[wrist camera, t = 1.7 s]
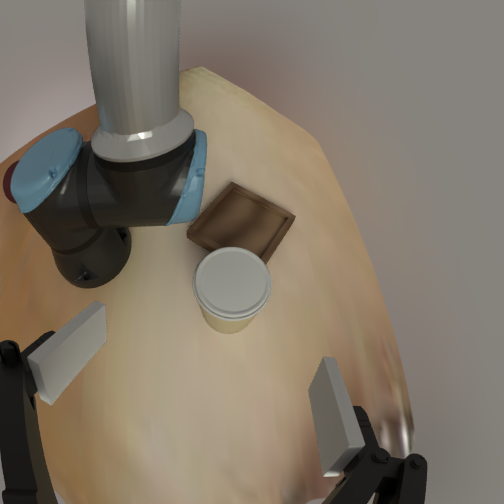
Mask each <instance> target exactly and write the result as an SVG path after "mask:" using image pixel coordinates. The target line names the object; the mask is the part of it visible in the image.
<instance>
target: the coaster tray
mask: <svg viewBox="0 0 504 504" xmlns="http://www.w3.org/2000/svg"><path fill="white" fill-rule="evenodd" d="M295 217H296V216H295V215H293V214H291V213H289V212H287V211H286V210H284V209H282V208H280V207H278V206H276V205H275V204H273V203H271V202H269V201H267V200H265V199H264V198H262V197H260V196H258V195H256V194H254V193H252V192H250V191H248V190H247V189H245V188H243V187H241V186H239V185H237V184H235V183H233V182H231V183H230V184H229V185H228V186H227V187H226V189H225V190H224V191H223V192H222V193H221V194H220V195H219V196H218V197H217V198H216V199H215V200H214V201H213V202H212V204H211V205H210V206H209V207H208V208H207V209H206V210H205V211H204V212H203V213H202V214H201V216H200V217H199V218H198V219H197V220H196V221H195V222H194V223H193V224H192V226H191V227H190V228H189V229H188V230H187V238H189V239H191V240H192V241H194V242H196V243H197V244H199V245H200V246H202V247H204V248H205V249H207V250H209V251H210V252H213V251H215V250H217V249H220V248H224V247H239V248H243V249H246V250H248V251H251V252H252V253H254V254H255V255H257V256H258V257H259V258H260V259H261V260H262V261H263V262H264V264H265V265H266V264H267V262H268V261H269V259H270V258H271V256H272V254H273V253H274V251H275V250H276V248H277V247H278V245H279V244H280V242H281V241H282V239H283V238H284V236H285V234H286V233H287V231H288V230H289V228H290V227H291V225H292V224H293V222H294V219H295Z"/></svg>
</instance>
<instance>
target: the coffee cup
mask: <svg viewBox="0 0 504 504" xmlns="http://www.w3.org/2000/svg"><path fill="white" fill-rule="evenodd" d="M271 289H272V280H271V276H270V273H269V270H268V268H267V267H266V265H265V264H264V262H263V261H262V260H261V259H260V258H259V257H258V256H257V255H255V254H254V253H252V252H251V251H248V250H246V249H243V248H239V247H224V248H220V249H217V250H215V251H213V252H211V253H210V254H208V255H207V256H205V257H204V258H203V259H202V260H201V262H200V263H199V264H198V266H197V268H196V270H195V273H194V277H193V290H194V293H195V296H196V298H197V301H198V302H199V305H200V308H201V311H202V313H203V316H204V318H205V320H206V322H207V323H208V325H209V326H210V327H211V328H213V329H214V330H216V331H217V332H220V333H223V334H234V333H237V332H239V331H241V330H243V329H244V328H245V327H246V326H248V324H249V323H250V322H251V321H252V320H253V319H254V317H255V316H256V315H257V314H258V312H259V311H261V310H262V309H263V307H264V306H265V305H266V303H267V302H268V300H269V297H270V294H271Z"/></svg>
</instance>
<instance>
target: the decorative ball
mask: <svg viewBox="0 0 504 504" xmlns="http://www.w3.org/2000/svg"><path fill="white" fill-rule="evenodd" d="M19 161H20V160H19ZM19 161H16V162H15V163H13V164H12V165H11V166H10V167H9V168H8V169H7V171H6V173H5V176H4V179H3V189H4V193H5V195H6V197H7V198H8V199H9V200H10V201H11V202H13V203H16V204H17V202H16V201H15V199H14V197H13V195H12V193H11V178H12V175H13V172H14V170H15V168H16V166H17V164H18V162H19Z"/></svg>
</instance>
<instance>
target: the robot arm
mask: <svg viewBox="0 0 504 504" xmlns="http://www.w3.org/2000/svg"><path fill="white" fill-rule="evenodd" d="M84 3H85V22H86V35H87V46H88V54H89V62H90V69H91V76H92V83H93V89H94V94H95V100H96V105H97V110H98V115H99V120H100V125H99V126H98V128H97V129H96V131H95V132H94V134H93V136H92V139H91V141H88V142H83V137H82V135H81V134H79V132H78V131H77V130H75V129H73V128H62V129H59V130H56V131H54V132H52V133H50V134H48V135H46V136H45V137H43V138H42V139H40V140H39V141H38V142H36V143H35V144H34V145H33V146H32V147H31V148H30V149H29V150H28V151H27V152H26V153H25V154H24V156H23V157H22V158H21V159H20V161H19V162H18V164H17V166H16V168H15V170H14V172H13V175H12V178H11V193H12V195H13V197H14V199H15V201H16V202H17V204H18V207H19V210H20V211H21V212H22V213H23V214H24V215H25V217H26V218H27V219H28V221H29V222H30V223H31V224H32V226H33V227H34V228H35V229H36V231H37V232H38V233H39V234H40V235H41V237H42V238H43V239H44V240H45V241H46V243H47V244H48V245H49V246H50V247H51V250H52V253H53V256H54V260H55V263H56V266H57V268H58V270H59V272H60V273H61V274H62V275H63V277H64V278H65V279H66V280H67V281H69V282H70V283H71V284H73V285H75V286H77V287H80V288H95V287H98V286H101V285H104V284H106V283H107V282H109V281H110V280H112V279H113V278H114V277H116V276H117V275H118V274H119V272H120V271H121V270H122V269H123V267H124V266H125V264H126V262H127V260H128V258H129V255H130V251H131V236H130V233H129V230H128V228H127V227H141V226H169V225H171V224H177V223H185V222H190V221H192V220H193V219H195V217H196V216H197V215H198V213H199V210H200V206H201V201H202V195H203V187H204V172H205V165H206V154H207V137H206V133H205V132H204V131H200V130H197V129H194V120H193V118H192V116H191V115H190V114H189V113H188V112H187V111H185V110H184V109H182V108H181V107H180V102H179V39H180V37H179V36H180V12H181V0H84ZM106 341H107V339H106V304H103V303H100V302H98V301H94V302H93V303H92V304H90V305H89V306H88V307H87V308H85V309H84V310H83V311H82V312H80V313H79V314H78V315H77V316H75V317H74V318H73V319H72V320H70V321H69V322H68V323H67V324H66V325H64V326H63V327H62V328H61V329H60V330H58V331H57V332H54V331H50V332H47V333H44V334H43V335H42V336H41V337H39V339H37V340H36V341H35V342H34V343H32V344H31V345H30V346H28V347H27V348H26V349H25V350H24V351H23V352H21V353H20V349H19V345H18V344H17V343H16V342H14V341H11V340H5V341H2V342H0V453H1V462H2V469H3V475H4V481H5V486H6V488H5V490H4V491H2V499H3V503H4V504H58V502H57V499H56V496H55V493H54V490H53V487H52V483H51V480H50V476H49V473H48V469H47V465H46V461H45V457H44V452H43V447H42V442H41V437H40V431H39V425H38V417H37V409H36V400H35V396H34V394H35V393H36V392H37V391H38V393H39V396H40V399H42V400H43V401H45V402H47V403H48V404H50V405H52V404H53V403H54V402H55V400H56V399H57V398H58V397H59V396H60V394H61V393H62V392H63V391H64V390H65V388H66V387H67V386H68V385H69V384H70V383H71V381H72V380H73V379H74V378H75V377H76V375H77V374H78V373H79V372H80V371H81V370H82V369H83V367H84V366H85V365H86V364H87V363H88V362H89V360H90V359H91V358H92V357H93V356H94V355H95V354H96V353H97V351H98V350H99V349H100V348H101V347H102V346H103V345H104V344H105V342H106ZM308 393H309V398H310V404H311V409H312V415H313V420H314V426H315V431H316V437H317V443H318V449H319V455H320V461H321V467H322V473H323V476H338V475H339V474H340V473H341V472H342V471H344V475H345V476H344V477H343V479H342V480H341V481H340V482H339V483H338V484H337V485H335V486H336V487H335V489H334V490H333V491H332V492H331V493H330V495H329V496H328V497H327V498H326V499H325V501H324V502H323V503H322V504H367V503H368V501H369V500H370V498H371V497H372V495H373V493H374V492H375V497H374V500H373V504H424V501H425V492H426V481H427V461H426V460H425V458H424V457H422V456H421V455H419V454H410V455H408V456H407V457H406V458H405V459H400V458H393V457H391V456H390V454H389V453H388V452H387V451H386V450H385V449H383V448H380V447H379V445H378V442H377V440H376V437H375V434H374V431H373V429H372V427H371V424H370V421H369V418H368V416H367V413H366V412H365V411H364V410H363V408H362V407H361V406H352V404H351V401H350V398H349V395H348V392H347V389H346V387H345V384H344V381H343V378H342V376H341V373H340V370H339V367H338V365H337V362H336V359H335V358H330V357H323V358H322V360H321V363H320V365H319V367H318V370H317V372H316V374H315V376H314V378H313V381H312V383H311V385H310V387H309V389H308Z"/></svg>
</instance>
